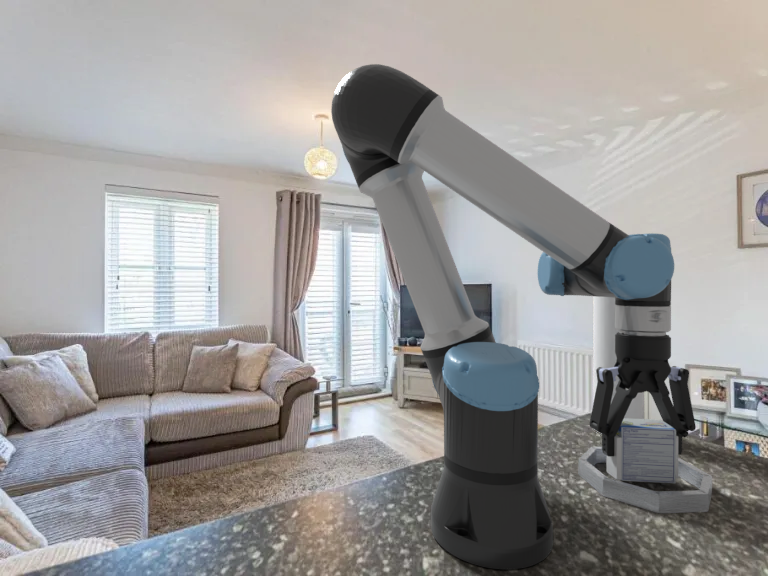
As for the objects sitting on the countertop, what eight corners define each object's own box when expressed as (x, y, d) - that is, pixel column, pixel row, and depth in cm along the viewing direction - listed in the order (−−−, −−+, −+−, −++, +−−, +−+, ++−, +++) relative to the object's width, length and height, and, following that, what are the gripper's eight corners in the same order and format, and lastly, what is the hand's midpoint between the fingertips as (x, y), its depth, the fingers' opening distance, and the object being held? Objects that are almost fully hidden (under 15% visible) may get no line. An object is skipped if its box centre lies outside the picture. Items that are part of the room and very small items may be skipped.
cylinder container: (604, 421, 95) (604, 290, 94) (650, 432, 88) (651, 291, 87) (585, 431, 89) (585, 291, 88) (633, 443, 82) (633, 292, 81)
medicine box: (661, 472, 67) (661, 418, 67) (676, 485, 63) (677, 428, 63) (609, 469, 68) (609, 417, 68) (621, 481, 64) (621, 426, 64)
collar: (623, 514, 57) (624, 496, 57) (563, 461, 74) (563, 447, 74) (742, 510, 58) (742, 492, 58) (655, 458, 75) (655, 445, 75)
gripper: (589, 336, 61) (589, 488, 61) (727, 334, 62) (726, 484, 62) (565, 330, 69) (564, 466, 69) (688, 329, 70) (687, 462, 70)
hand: (641, 474), depth 66 cm, fingers closed on medicine box, 8 cm apart
